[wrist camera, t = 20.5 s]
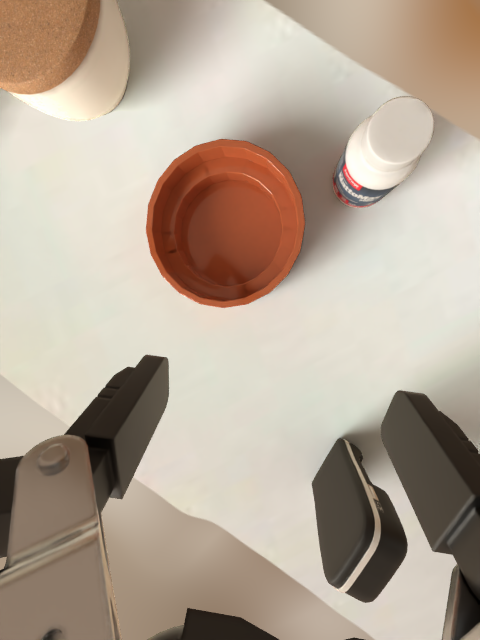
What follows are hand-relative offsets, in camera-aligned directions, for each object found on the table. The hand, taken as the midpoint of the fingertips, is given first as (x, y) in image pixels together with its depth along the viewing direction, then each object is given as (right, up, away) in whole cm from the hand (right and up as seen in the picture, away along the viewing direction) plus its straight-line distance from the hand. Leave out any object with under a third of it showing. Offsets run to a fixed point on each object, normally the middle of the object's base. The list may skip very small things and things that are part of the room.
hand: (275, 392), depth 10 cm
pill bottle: (+10, +16, +16) cm, 25 cm away
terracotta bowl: (-2, +11, +19) cm, 22 cm away
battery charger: (+10, -14, +21) cm, 26 cm away
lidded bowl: (-16, +28, +19) cm, 37 cm away
